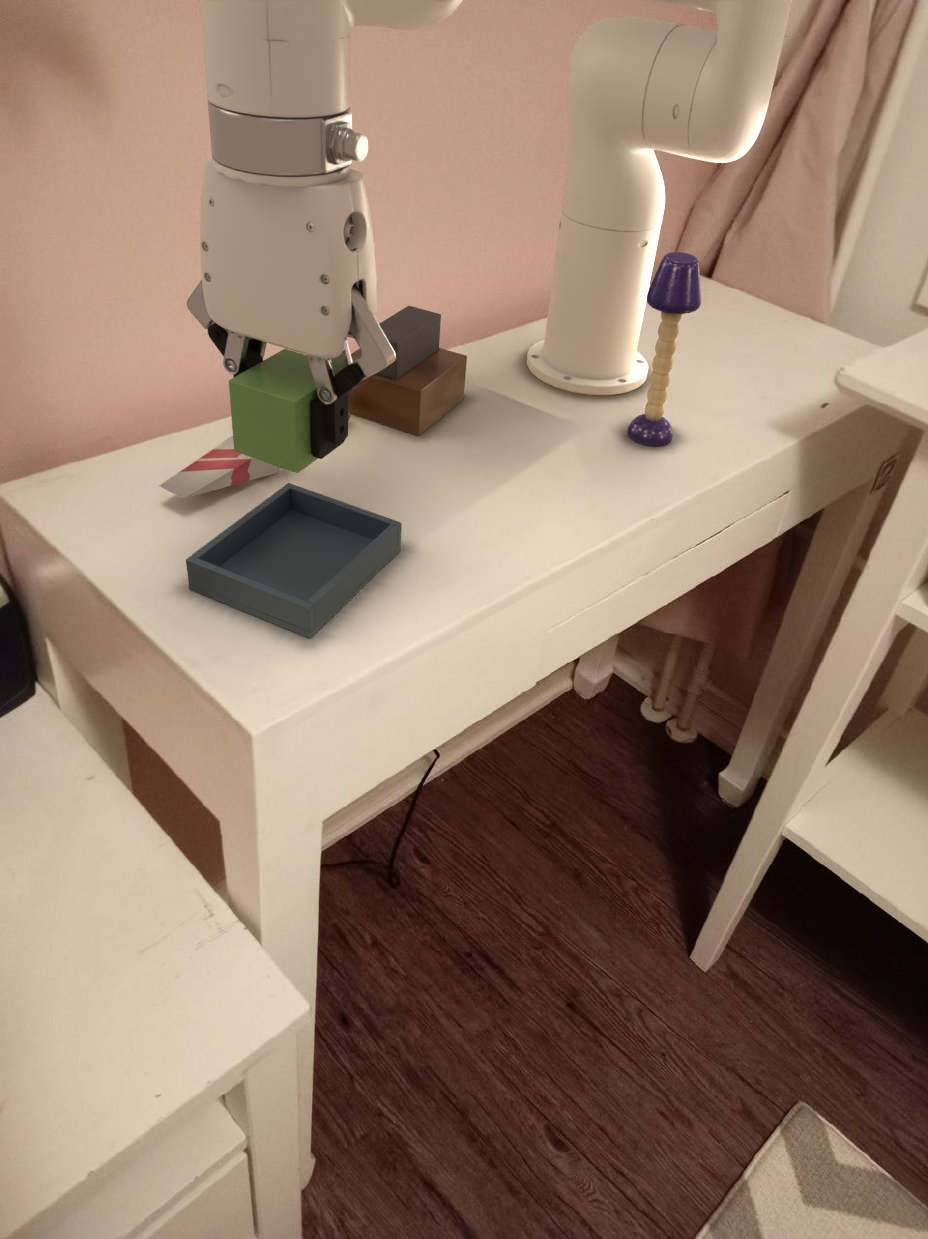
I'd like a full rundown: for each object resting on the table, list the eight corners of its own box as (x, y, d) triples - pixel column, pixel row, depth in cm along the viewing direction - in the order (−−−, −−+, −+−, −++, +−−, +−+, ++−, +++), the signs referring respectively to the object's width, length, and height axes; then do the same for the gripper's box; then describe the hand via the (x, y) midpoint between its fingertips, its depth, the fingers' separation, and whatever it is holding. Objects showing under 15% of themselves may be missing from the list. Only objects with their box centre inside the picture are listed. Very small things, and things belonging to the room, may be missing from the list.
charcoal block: (407, 340, 94) (408, 305, 91) (439, 349, 93) (441, 314, 90) (363, 370, 88) (363, 333, 86) (396, 380, 87) (397, 343, 85)
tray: (289, 510, 78) (288, 482, 76) (400, 551, 74) (401, 522, 73) (189, 589, 69) (185, 559, 67) (310, 639, 66) (309, 609, 64)
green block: (287, 416, 68) (284, 348, 65) (348, 436, 66) (348, 367, 63) (233, 451, 64) (228, 380, 61) (297, 473, 62) (295, 402, 59)
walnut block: (384, 375, 98) (385, 332, 95) (463, 399, 95) (467, 355, 92) (334, 409, 91) (334, 364, 88) (418, 436, 88) (421, 390, 86)
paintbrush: (152, 466, 75) (328, 392, 89) (155, 497, 77) (327, 420, 91) (186, 484, 74) (360, 406, 87) (189, 515, 75) (359, 434, 89)
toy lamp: (641, 451, 89) (679, 269, 79) (610, 428, 92) (643, 250, 82) (681, 441, 91) (724, 262, 81) (649, 419, 94) (687, 244, 84)
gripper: (450, 156, 53) (432, 451, 65) (200, 102, 59) (223, 383, 70) (379, 186, 48) (373, 501, 59) (111, 123, 53) (152, 423, 65)
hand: (292, 434), depth 65 cm, fingers closed on green block, 5 cm apart
